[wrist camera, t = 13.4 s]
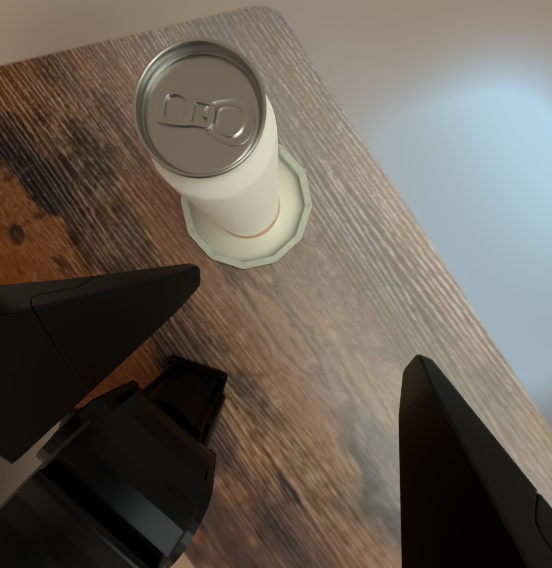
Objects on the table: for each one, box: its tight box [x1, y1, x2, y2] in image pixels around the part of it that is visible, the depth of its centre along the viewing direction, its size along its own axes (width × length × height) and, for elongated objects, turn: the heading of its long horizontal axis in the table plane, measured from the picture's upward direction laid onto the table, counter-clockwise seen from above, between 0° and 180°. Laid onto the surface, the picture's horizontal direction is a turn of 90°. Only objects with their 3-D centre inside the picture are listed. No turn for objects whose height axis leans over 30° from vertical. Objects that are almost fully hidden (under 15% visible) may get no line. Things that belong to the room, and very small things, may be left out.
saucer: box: [181, 144, 312, 269], centre depth 21 cm, size 12×12×1 cm
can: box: [132, 38, 279, 236], centre depth 15 cm, size 6×6×12 cm
